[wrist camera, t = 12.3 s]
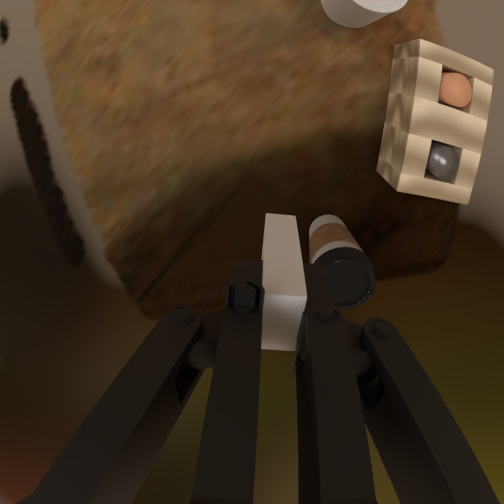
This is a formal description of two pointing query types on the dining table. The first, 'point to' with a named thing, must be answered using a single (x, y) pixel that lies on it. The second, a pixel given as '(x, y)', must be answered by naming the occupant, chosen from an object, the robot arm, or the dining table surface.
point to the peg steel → (442, 161)
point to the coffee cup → (341, 261)
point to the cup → (359, 11)
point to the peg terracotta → (454, 89)
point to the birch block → (432, 121)
